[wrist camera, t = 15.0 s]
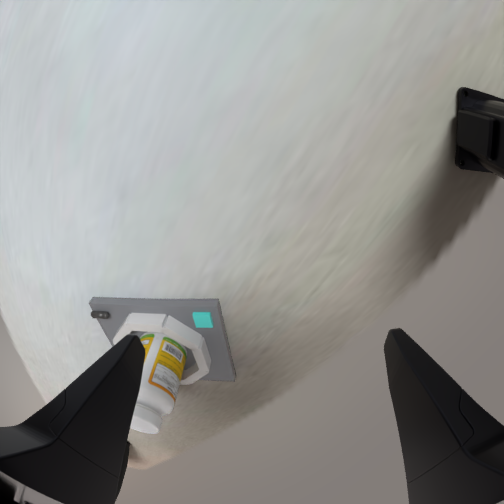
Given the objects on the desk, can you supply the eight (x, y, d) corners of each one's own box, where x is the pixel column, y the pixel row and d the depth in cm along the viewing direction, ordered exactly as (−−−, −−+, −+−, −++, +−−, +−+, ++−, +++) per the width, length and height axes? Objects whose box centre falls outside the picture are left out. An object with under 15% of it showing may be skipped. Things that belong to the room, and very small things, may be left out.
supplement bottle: (143, 355, 30) (117, 427, 22) (137, 324, 27) (102, 403, 19) (188, 365, 30) (169, 442, 22) (187, 335, 27) (163, 421, 19)
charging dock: (218, 298, 26) (213, 318, 24) (235, 374, 32) (233, 391, 30) (92, 297, 27) (82, 312, 25) (131, 366, 33) (125, 381, 31)
